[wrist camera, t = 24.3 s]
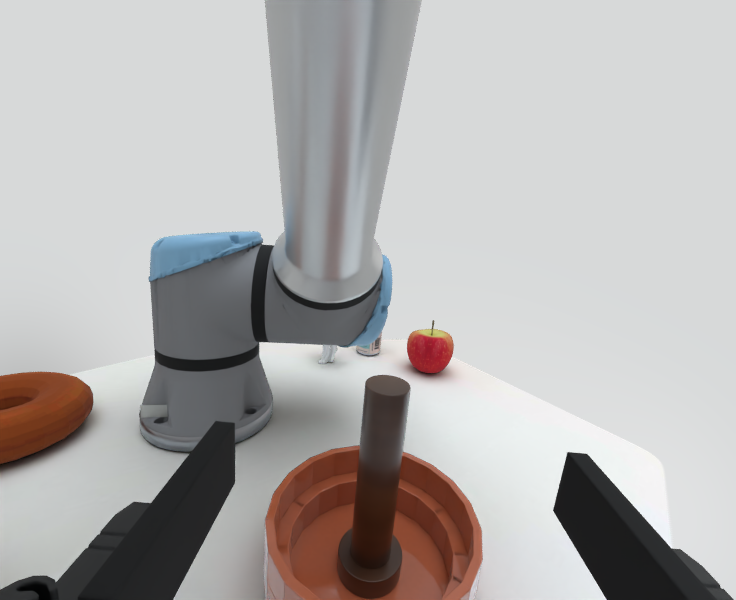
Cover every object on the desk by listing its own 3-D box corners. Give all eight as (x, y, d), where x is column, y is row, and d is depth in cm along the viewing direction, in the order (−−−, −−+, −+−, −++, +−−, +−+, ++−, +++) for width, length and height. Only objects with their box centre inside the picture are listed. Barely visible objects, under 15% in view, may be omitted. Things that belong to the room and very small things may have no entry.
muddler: (330, 546, 28) (343, 371, 25) (385, 532, 30) (404, 367, 27) (347, 608, 24) (366, 406, 21) (411, 588, 26) (438, 398, 22)
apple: (401, 375, 62) (407, 320, 60) (407, 358, 70) (413, 309, 68) (449, 384, 60) (457, 328, 58) (450, 365, 69) (457, 315, 66)
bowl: (258, 513, 31) (259, 459, 30) (411, 483, 37) (418, 436, 36) (275, 755, 18) (279, 672, 16) (518, 650, 23) (534, 582, 22)
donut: (-129, 449, 35) (-140, 403, 34) (54, 390, 48) (50, 355, 47) (-64, 510, 29) (-76, 456, 28) (123, 423, 42) (120, 384, 41)
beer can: (379, 348, 74) (384, 292, 71) (380, 357, 70) (386, 297, 67) (356, 347, 74) (360, 290, 71) (356, 355, 69) (361, 296, 67)
